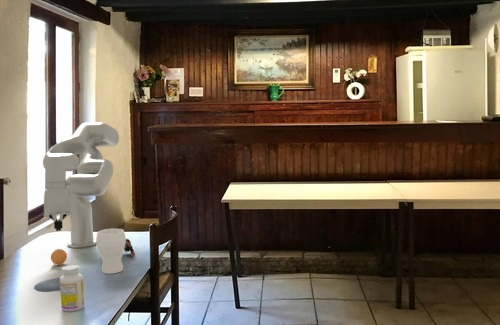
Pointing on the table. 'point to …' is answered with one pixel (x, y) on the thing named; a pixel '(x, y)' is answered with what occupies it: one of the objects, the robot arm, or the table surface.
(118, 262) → the cup
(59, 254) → the ball
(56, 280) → the disc
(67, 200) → the robot arm
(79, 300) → the supplement bottle
